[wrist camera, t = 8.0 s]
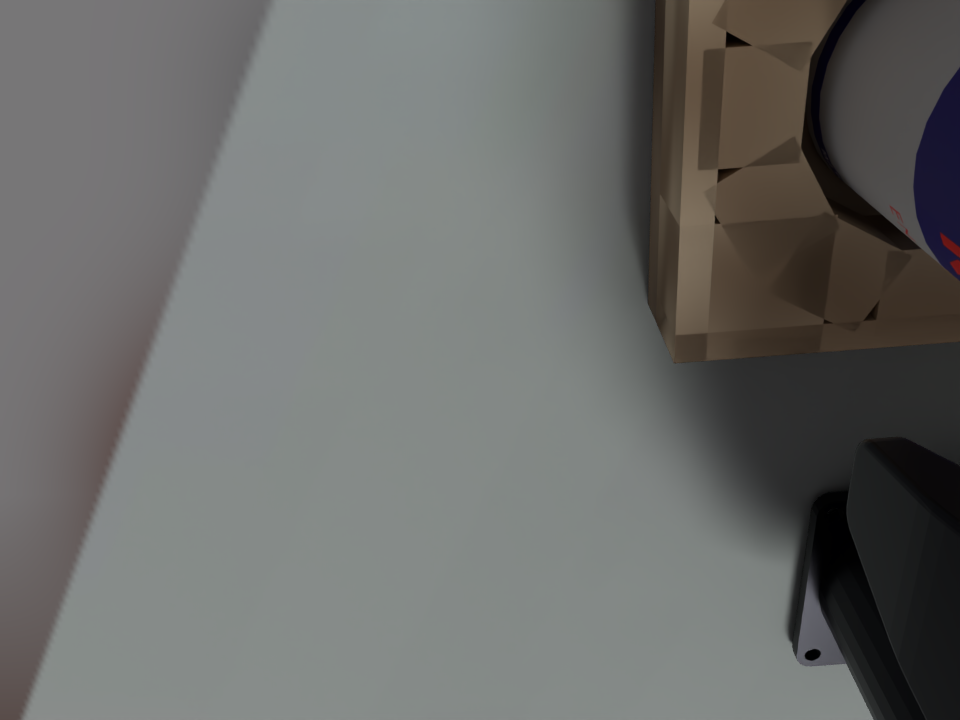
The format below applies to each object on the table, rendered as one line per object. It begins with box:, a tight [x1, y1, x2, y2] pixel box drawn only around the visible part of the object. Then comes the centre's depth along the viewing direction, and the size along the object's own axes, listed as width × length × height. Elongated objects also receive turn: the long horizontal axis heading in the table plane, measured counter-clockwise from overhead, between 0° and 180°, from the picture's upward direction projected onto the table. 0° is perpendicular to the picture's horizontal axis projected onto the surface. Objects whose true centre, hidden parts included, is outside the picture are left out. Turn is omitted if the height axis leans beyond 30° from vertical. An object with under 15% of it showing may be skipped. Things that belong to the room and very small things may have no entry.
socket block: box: [648, 0, 960, 363], centre depth 19 cm, size 11×11×3 cm
